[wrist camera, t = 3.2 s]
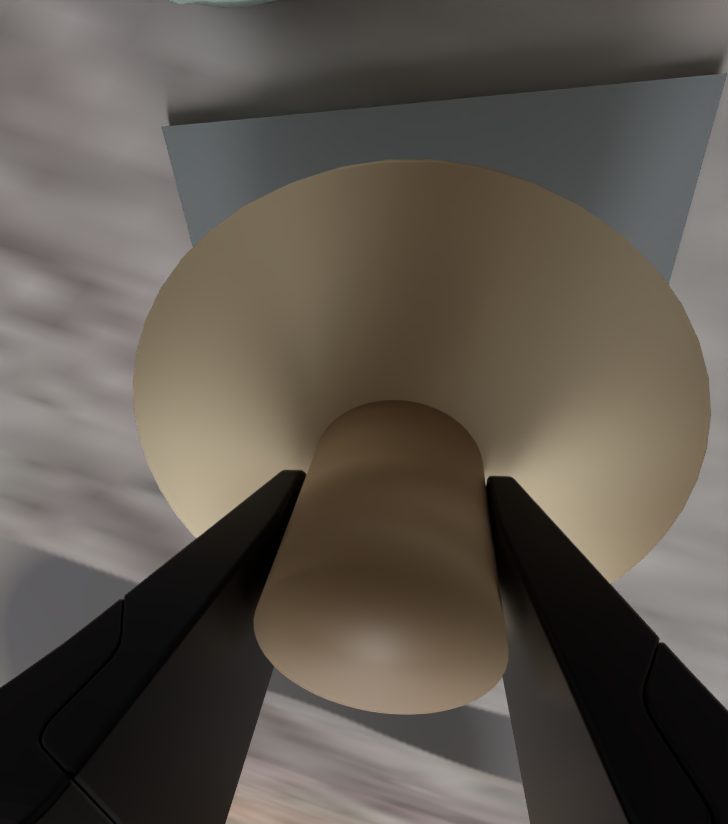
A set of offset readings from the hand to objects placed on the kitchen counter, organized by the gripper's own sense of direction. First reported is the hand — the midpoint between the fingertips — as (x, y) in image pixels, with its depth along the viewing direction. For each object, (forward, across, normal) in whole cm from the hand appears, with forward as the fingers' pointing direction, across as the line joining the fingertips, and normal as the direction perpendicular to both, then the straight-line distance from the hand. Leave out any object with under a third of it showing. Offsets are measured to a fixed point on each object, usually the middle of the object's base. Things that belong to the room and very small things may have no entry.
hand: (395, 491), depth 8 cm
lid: (+1, 0, 0) cm, 1 cm away
